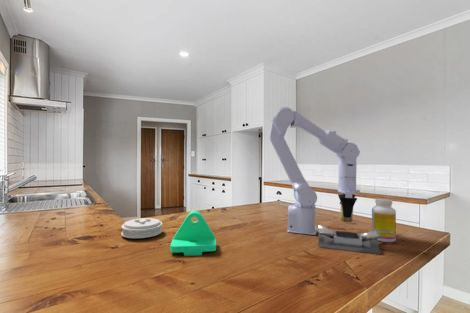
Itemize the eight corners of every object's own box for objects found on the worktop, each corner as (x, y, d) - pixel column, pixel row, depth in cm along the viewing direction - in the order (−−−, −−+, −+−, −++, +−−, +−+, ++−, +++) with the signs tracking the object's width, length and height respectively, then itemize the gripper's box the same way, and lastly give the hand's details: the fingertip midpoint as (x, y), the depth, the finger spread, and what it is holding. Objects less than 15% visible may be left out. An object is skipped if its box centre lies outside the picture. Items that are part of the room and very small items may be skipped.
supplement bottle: (399, 243, 77) (399, 201, 77) (375, 242, 79) (376, 200, 79) (390, 237, 84) (390, 198, 84) (368, 235, 85) (369, 197, 85)
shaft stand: (315, 246, 74) (315, 228, 74) (316, 236, 83) (316, 220, 83) (383, 254, 68) (383, 234, 68) (376, 243, 77) (376, 225, 77)
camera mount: (169, 256, 65) (170, 216, 66) (173, 246, 73) (173, 210, 73) (216, 255, 67) (216, 216, 67) (215, 245, 74) (215, 210, 75)
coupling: (340, 221, 87) (340, 201, 87) (339, 218, 91) (340, 199, 91) (354, 222, 86) (354, 202, 86) (352, 220, 90) (352, 200, 90)
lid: (123, 231, 88) (123, 216, 88) (161, 228, 92) (161, 214, 92) (118, 243, 76) (119, 226, 76) (162, 239, 79) (163, 223, 80)
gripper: (362, 179, 80) (362, 221, 80) (357, 176, 94) (356, 212, 94) (338, 178, 83) (338, 219, 83) (336, 175, 96) (336, 211, 96)
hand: (346, 215), depth 89 cm, fingers closed on coupling, 4 cm apart
